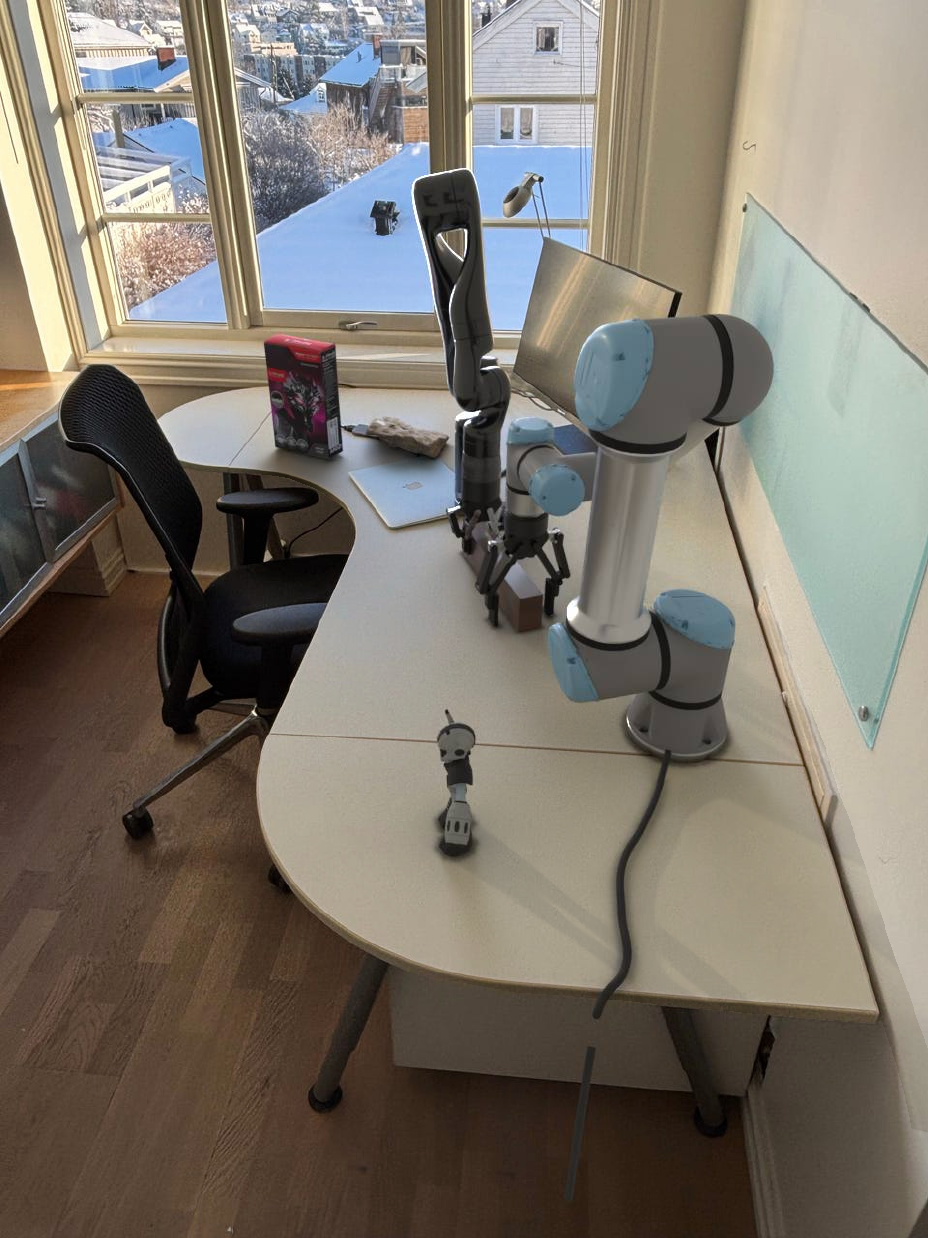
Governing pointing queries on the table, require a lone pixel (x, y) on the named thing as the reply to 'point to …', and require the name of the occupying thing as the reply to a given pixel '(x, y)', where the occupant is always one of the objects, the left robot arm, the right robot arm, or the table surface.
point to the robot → (456, 785)
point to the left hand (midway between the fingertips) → (479, 550)
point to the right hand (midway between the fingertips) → (521, 616)
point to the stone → (407, 436)
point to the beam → (509, 584)
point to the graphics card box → (304, 395)
